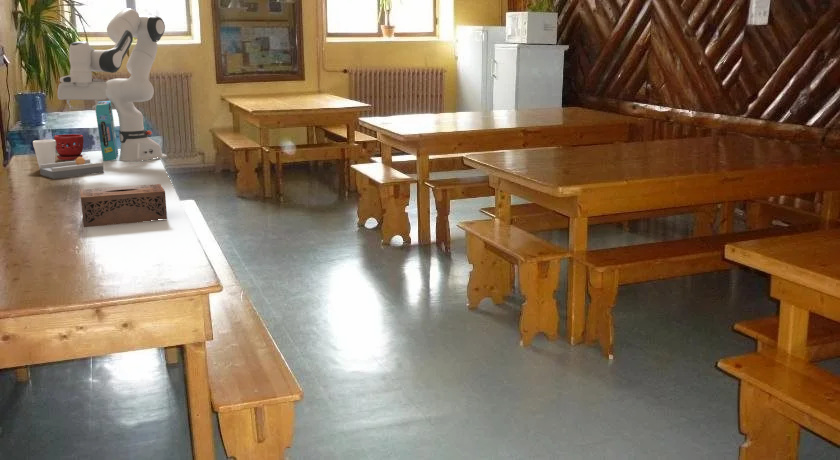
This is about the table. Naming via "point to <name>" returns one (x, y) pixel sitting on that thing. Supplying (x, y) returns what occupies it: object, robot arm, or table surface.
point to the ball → (80, 161)
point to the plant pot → (69, 146)
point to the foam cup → (45, 151)
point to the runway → (70, 169)
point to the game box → (106, 130)
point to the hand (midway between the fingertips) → (83, 110)
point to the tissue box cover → (123, 205)
